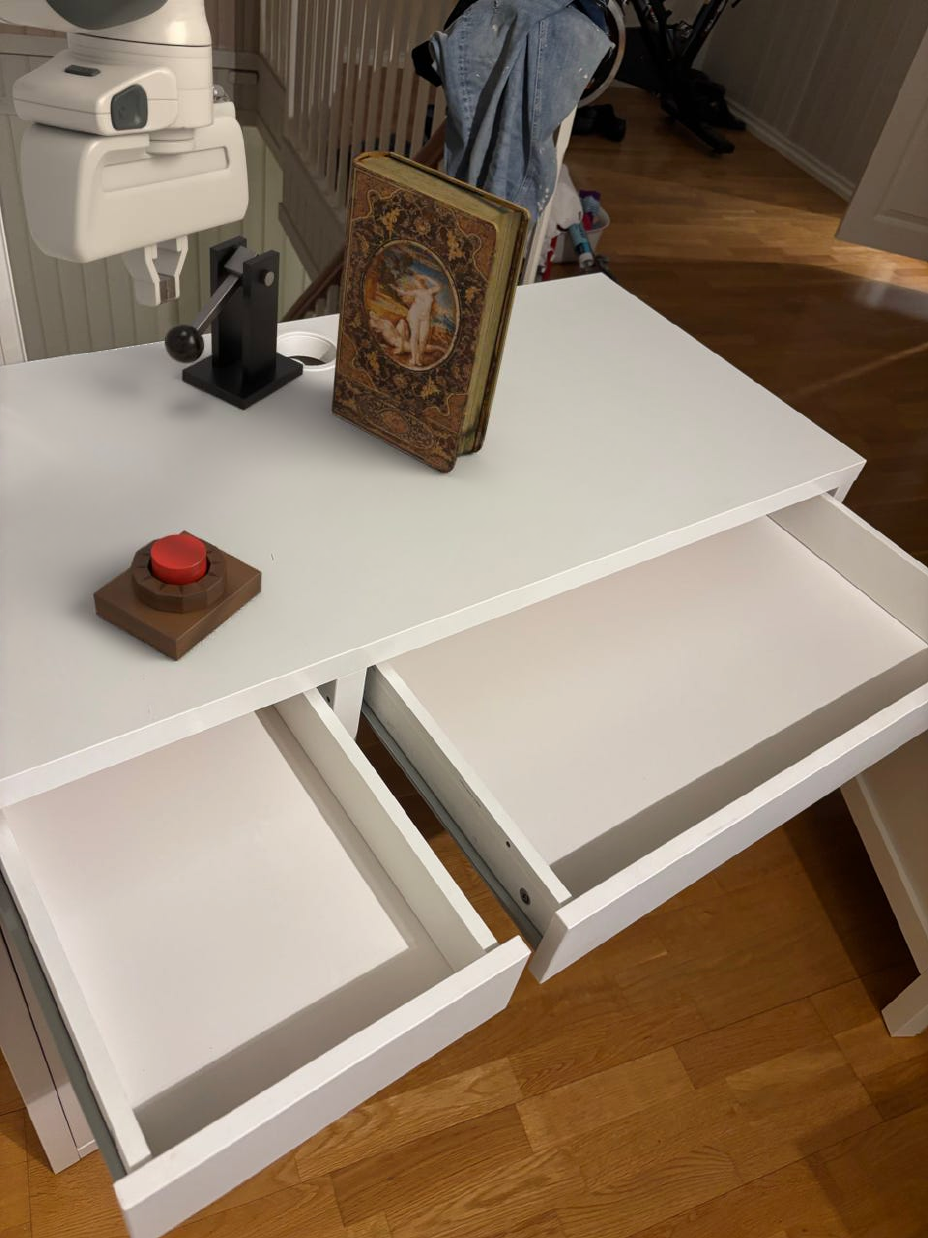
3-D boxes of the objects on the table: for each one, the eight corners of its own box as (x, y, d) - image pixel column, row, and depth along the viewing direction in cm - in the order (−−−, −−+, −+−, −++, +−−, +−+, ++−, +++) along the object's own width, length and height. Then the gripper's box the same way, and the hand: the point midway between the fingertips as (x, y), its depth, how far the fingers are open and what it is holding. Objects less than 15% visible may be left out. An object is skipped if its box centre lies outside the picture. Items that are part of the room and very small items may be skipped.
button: (181, 593, 70) (180, 575, 69) (140, 570, 72) (138, 552, 70) (217, 566, 73) (217, 548, 72) (177, 544, 74) (176, 526, 73)
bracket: (243, 410, 96) (244, 280, 86) (182, 380, 98) (176, 249, 88) (303, 373, 102) (309, 249, 93) (244, 346, 104) (245, 222, 95)
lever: (195, 376, 90) (181, 352, 86) (165, 362, 91) (150, 338, 87) (272, 277, 93) (262, 250, 90) (243, 264, 94) (232, 237, 91)
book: (323, 408, 98) (341, 157, 81) (356, 390, 102) (380, 146, 85) (451, 478, 93) (499, 226, 76) (481, 456, 97) (534, 211, 80)
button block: (176, 661, 70) (174, 623, 68) (95, 614, 72) (90, 575, 70) (261, 591, 77) (262, 554, 75) (185, 549, 79) (183, 512, 77)
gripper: (194, 76, 71) (202, 266, 79) (-11, 87, 55) (24, 325, 62) (268, 89, 69) (268, 281, 77) (79, 104, 53) (104, 345, 61)
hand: (158, 301), depth 70 cm, fingers closed
